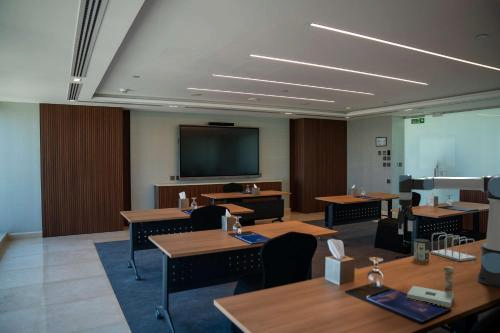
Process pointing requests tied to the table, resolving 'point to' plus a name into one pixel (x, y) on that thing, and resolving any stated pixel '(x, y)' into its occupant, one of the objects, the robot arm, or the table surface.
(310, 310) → the table surface
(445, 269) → the peg
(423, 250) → the coffee can
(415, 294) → the board
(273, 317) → the table surface
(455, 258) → the file sorter
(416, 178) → the robot arm
